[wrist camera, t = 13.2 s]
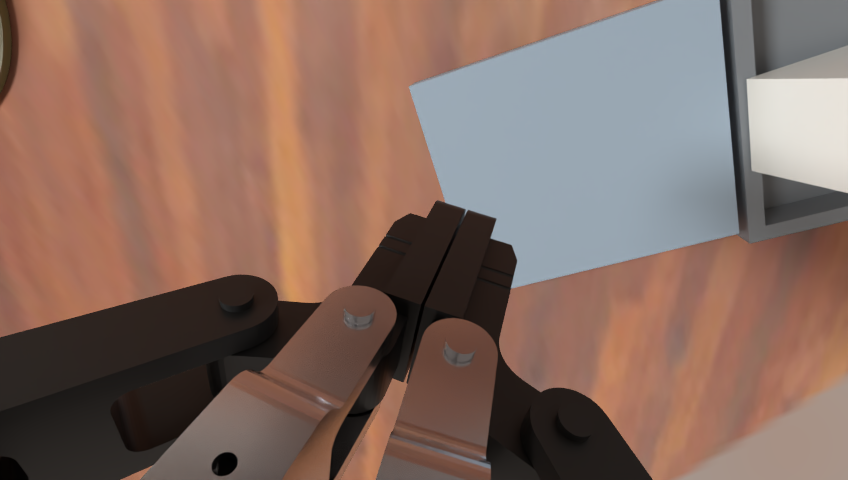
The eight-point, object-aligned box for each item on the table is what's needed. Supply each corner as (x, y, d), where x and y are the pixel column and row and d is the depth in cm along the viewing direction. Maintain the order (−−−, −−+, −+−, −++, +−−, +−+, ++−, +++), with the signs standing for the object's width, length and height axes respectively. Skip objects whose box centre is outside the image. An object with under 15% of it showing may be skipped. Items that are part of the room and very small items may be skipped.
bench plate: (414, 82, 25) (408, 86, 22) (686, -10, 22) (718, -18, 20) (474, 273, 29) (475, 296, 26) (710, 214, 27) (739, 233, 24)
